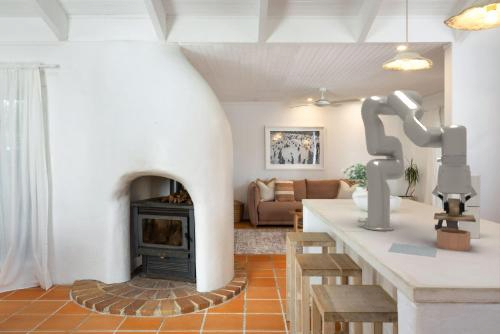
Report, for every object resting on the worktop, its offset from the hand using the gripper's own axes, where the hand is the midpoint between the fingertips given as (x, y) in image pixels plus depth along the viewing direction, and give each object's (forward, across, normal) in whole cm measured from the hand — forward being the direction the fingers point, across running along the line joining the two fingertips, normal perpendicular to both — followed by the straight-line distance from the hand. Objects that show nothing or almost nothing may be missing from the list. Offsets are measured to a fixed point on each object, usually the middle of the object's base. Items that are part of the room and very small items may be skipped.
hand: (454, 213), depth 122 cm
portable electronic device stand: (+12, -1, +36) cm, 38 cm away
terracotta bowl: (+12, 0, 0) cm, 12 cm away
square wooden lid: (+2, 0, 0) cm, 2 cm away
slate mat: (+12, -12, -11) cm, 20 cm away
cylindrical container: (+12, +6, +26) cm, 30 cm away
